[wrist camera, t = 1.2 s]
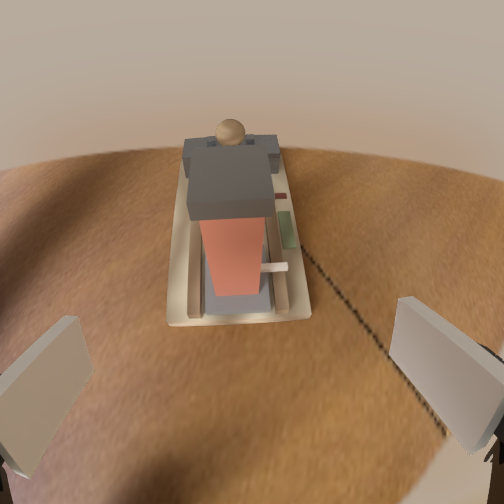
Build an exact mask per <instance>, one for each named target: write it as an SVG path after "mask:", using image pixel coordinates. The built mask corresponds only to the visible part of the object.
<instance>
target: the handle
mask: <svg viewBox="0 0 504 504" xmlns="http://www.w3.org/2000/svg"><path fill="white" fill-rule="evenodd" d="M186 204H187V209H188V213H189V217H190V221H199V224H200V229H201V234H202V238H203V243H204V247H205V252H206V256H205V312H206V315H227V314H247V313H263V312H270V310H271V305H270V295H269V286H268V276H267V272H277V271H288V263H287V262H281V263H266V257H265V248H264V244H263V237H264V224H265V217H273V213H274V204H275V195H274V189H273V183H272V176H271V170H270V164H269V159H268V153H267V147H266V145H236V146H217V147H202V148H192V153H191V162H190V171H189V180H188V190H187V200H186Z"/></svg>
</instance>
